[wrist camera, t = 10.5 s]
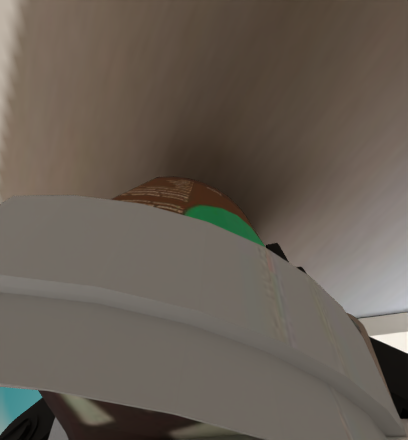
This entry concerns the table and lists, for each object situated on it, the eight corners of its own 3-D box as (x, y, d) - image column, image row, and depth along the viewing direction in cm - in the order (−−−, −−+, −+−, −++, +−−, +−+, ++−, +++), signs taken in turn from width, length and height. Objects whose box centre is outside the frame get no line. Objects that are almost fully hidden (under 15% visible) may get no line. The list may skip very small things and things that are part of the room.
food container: (271, 320, 15) (371, 628, 6) (186, 324, 15) (151, 621, 6) (279, 133, 10) (1143, 214, 1) (151, 146, 10) (-317, 311, 1)
